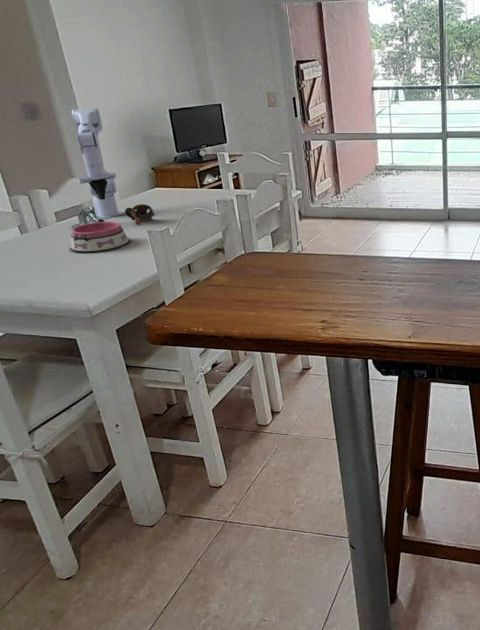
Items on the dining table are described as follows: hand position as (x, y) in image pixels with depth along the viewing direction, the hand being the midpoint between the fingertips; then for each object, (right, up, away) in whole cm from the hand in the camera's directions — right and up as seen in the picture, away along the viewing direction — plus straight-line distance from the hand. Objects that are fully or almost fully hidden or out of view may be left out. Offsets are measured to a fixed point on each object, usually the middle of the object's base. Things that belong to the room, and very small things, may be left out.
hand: (102, 199), depth 229 cm
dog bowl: (+13, -21, -23) cm, 34 cm away
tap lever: (-2, -9, -2) cm, 10 cm away
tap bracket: (-6, -11, +1) cm, 12 cm away
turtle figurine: (+13, -8, +6) cm, 17 cm away
